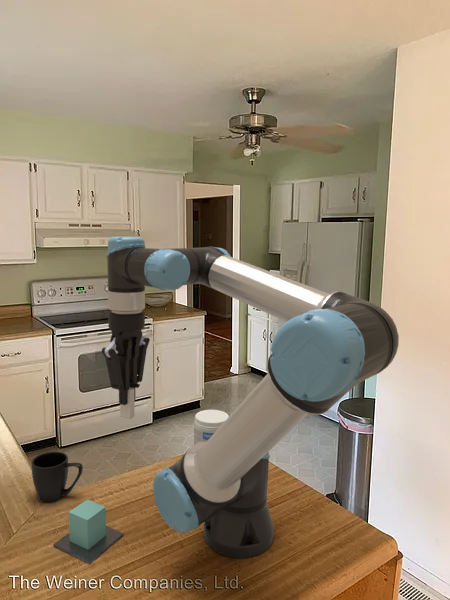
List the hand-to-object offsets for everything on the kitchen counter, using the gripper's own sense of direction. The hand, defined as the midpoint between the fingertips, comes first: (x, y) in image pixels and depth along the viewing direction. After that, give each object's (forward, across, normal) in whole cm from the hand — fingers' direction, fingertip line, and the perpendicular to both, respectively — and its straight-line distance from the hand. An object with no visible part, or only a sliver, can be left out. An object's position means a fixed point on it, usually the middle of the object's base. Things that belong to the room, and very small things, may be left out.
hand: (127, 416), depth 102 cm
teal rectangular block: (+24, +10, -2) cm, 26 cm away
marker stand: (+24, +10, -2) cm, 26 cm away
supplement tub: (+25, -30, +4) cm, 39 cm away
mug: (+25, +2, -20) cm, 32 cm away
